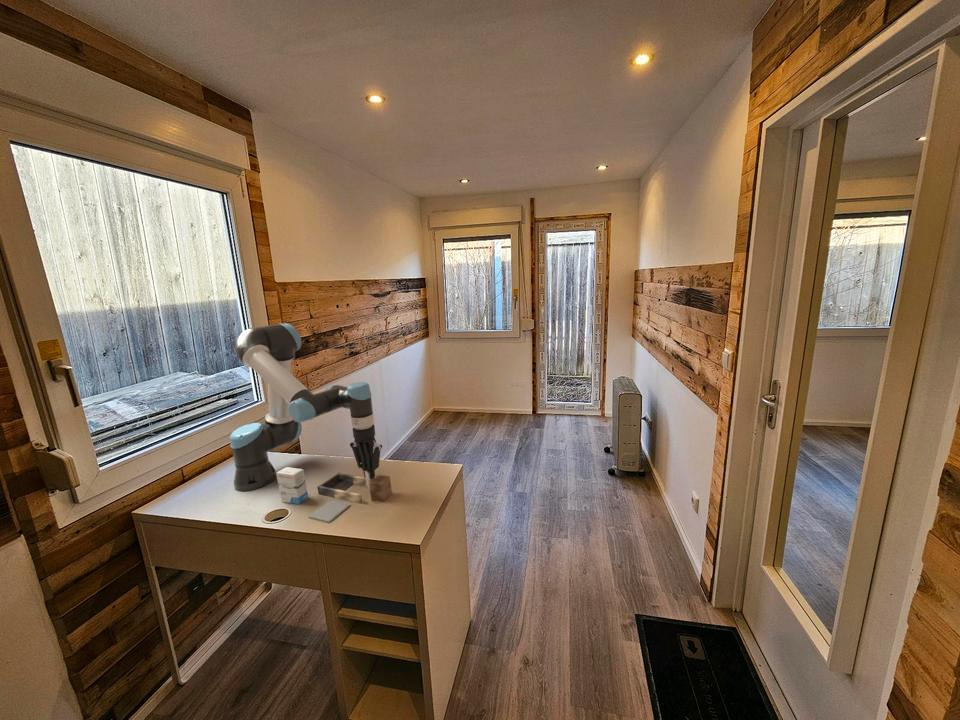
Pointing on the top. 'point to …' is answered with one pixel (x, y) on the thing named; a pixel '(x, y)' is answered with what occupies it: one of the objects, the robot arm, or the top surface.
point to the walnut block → (380, 488)
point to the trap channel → (342, 487)
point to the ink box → (292, 485)
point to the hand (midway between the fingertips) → (370, 485)
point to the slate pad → (329, 511)
